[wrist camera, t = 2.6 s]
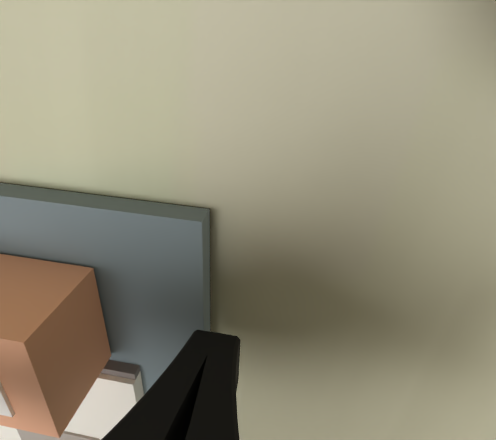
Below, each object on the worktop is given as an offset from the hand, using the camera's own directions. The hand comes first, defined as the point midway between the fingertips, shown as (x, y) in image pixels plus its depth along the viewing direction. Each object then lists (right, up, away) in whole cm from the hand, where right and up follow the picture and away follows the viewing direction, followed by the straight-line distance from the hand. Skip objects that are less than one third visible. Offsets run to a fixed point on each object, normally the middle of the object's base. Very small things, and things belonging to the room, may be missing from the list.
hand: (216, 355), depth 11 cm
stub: (-7, +2, +2) cm, 7 cm away
